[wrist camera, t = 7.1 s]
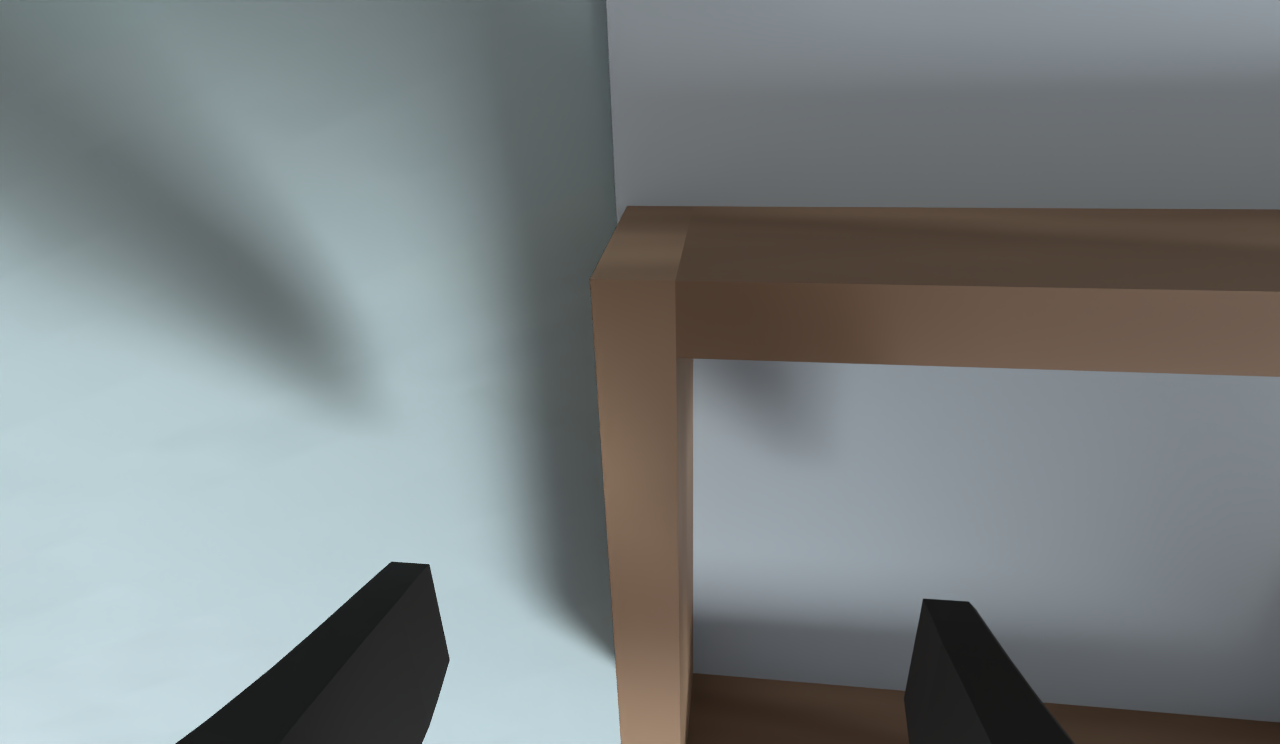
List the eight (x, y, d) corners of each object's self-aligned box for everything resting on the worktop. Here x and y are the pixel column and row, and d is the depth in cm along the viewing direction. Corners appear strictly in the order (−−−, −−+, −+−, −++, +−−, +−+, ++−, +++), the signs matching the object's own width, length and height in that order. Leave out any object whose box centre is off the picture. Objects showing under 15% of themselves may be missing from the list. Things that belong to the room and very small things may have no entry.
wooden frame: (1360, 764, 15) (1489, 936, 12) (647, 700, 17) (627, 838, 14) (1717, 211, 10) (2068, 306, 7) (627, 206, 12) (590, 279, 9)
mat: (1328, 858, 17) (1337, 872, 17) (645, 786, 19) (644, 798, 18) (1983, -118, 8) (2024, -120, 8) (606, -61, 10) (603, -62, 10)
